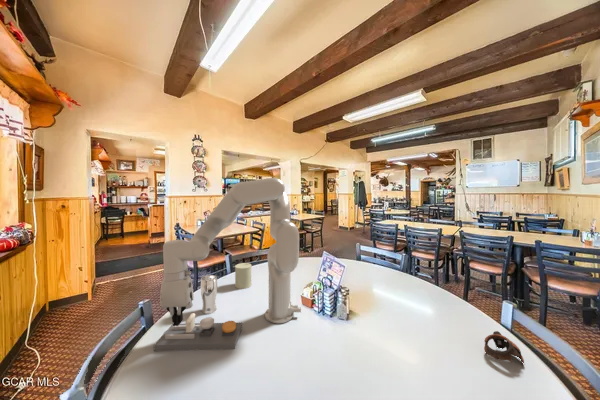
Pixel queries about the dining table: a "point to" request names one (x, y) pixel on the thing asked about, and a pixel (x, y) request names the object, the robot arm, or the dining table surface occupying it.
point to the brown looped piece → (500, 343)
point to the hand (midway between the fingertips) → (177, 323)
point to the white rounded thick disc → (206, 323)
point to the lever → (190, 324)
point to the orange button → (229, 326)
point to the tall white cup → (209, 293)
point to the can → (243, 275)
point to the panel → (198, 338)
